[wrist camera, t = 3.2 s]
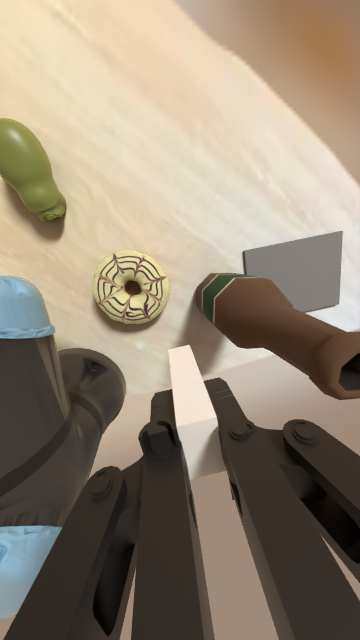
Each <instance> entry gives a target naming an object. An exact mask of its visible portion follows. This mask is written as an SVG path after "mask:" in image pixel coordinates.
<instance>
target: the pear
mask: <svg viewBox="0 0 360 640" xmlns="http://www.w3.org/2000/svg"><path fill="white" fill-rule="evenodd" d="M0 175H1V177H2V178H3V179H4V180H5V181H6V182H7V183H8V184H9V185H10V186H11V187H12V188H13V189H14V190H15V191H16V192H17V194H18V195H19V197H20V199H21V201H22V202H23V204H24V205H25V207H26V208H27V209H28V210H29V211H31V212H34V213H35V214H36V215H37V216H38V219H39V220H40V221H41V222H46V221H47V220H49V221H51V220H52V219H54V218H56V217H62V216H63V214H65V211H66V207H65V205H66V201H65V198H64V197H63V195H62V194H61V193H60V192H59V191H58V189H57V187H56V185H55V183H54V180H53V177H52V170H51V165H50V162H49V160H48V157H47V155H46V152H45V150H44V148H43V147H42V145H41V143H40V142H39V140H38V139H37V137H36V136H35V135H34V134H33V133H32V132H31V131H30V130H29V129H28V128H27V127H26V126H24V125H23V124H21V123H19V122H17V121H15V120H11V119H6V118H1V119H0Z"/></svg>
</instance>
